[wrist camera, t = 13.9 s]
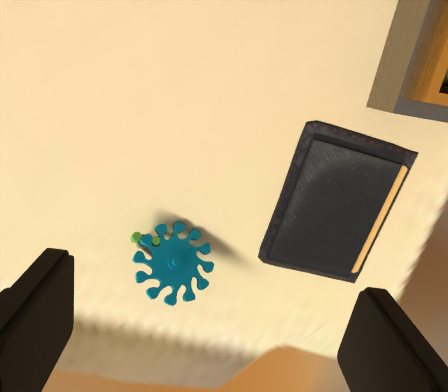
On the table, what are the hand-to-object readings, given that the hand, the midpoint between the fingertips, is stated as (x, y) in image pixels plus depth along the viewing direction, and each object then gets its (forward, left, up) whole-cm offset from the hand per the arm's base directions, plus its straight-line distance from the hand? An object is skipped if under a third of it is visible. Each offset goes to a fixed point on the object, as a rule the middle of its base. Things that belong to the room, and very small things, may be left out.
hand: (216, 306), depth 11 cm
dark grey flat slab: (+7, +17, -31) cm, 36 cm away
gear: (+15, -3, -31) cm, 34 cm away
